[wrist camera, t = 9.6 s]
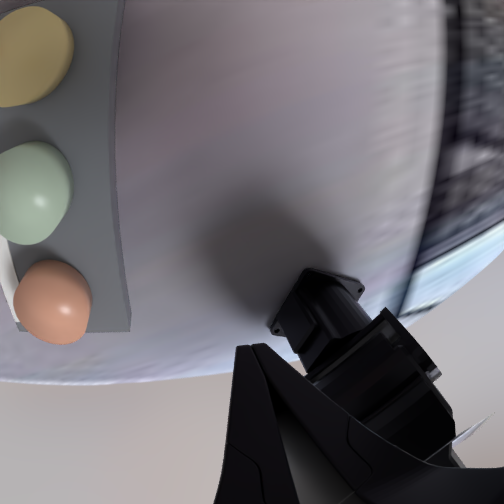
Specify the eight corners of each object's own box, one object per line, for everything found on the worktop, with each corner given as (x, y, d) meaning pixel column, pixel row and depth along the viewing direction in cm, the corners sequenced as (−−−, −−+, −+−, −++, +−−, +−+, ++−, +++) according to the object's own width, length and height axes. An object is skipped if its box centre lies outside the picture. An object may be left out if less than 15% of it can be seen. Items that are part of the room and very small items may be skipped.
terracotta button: (84, 258, 16) (76, 276, 14) (99, 323, 18) (95, 344, 17) (14, 261, 15) (2, 278, 13) (36, 323, 17) (28, 343, 15)
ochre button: (79, 6, 9) (68, -5, 8) (70, 96, 12) (57, 97, 10) (-1, 27, 8) (-19, 22, 6) (-7, 112, 10) (-26, 116, 9)
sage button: (71, 135, 13) (58, 141, 11) (78, 226, 15) (69, 242, 13) (-6, 147, 11) (-24, 156, 10) (7, 231, 14) (-7, 247, 12)
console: (125, -3, 11) (120, -14, 9) (131, 313, 21) (129, 332, 19) (-7, 26, 9) (-23, 22, 7) (26, 314, 19) (19, 332, 17)
